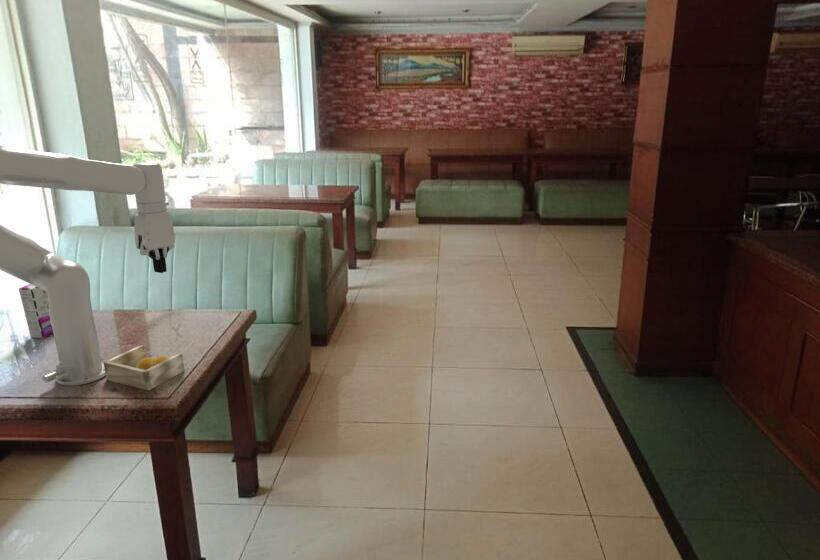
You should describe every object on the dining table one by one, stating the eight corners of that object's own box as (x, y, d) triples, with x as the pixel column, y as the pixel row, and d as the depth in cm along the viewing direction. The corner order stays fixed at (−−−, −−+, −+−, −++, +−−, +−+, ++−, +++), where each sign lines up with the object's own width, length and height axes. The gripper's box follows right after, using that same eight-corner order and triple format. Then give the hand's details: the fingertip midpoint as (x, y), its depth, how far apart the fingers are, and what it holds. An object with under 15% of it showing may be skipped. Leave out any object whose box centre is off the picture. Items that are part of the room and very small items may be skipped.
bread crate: (148, 390, 145) (145, 372, 143) (106, 379, 151) (103, 362, 149) (184, 370, 155) (182, 353, 154) (144, 361, 161) (141, 344, 160)
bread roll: (170, 375, 153) (168, 362, 152) (134, 380, 151) (132, 366, 150) (175, 362, 160) (173, 349, 159) (140, 366, 158) (138, 353, 157)
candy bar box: (56, 325, 189) (46, 277, 184) (69, 325, 188) (60, 277, 183) (29, 338, 178) (17, 287, 173) (43, 339, 177) (32, 288, 173)
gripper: (164, 203, 167) (172, 264, 173) (118, 211, 155) (128, 276, 160) (183, 205, 164) (190, 267, 169) (137, 213, 151) (147, 280, 157)
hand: (160, 271), depth 165 cm, fingers closed
